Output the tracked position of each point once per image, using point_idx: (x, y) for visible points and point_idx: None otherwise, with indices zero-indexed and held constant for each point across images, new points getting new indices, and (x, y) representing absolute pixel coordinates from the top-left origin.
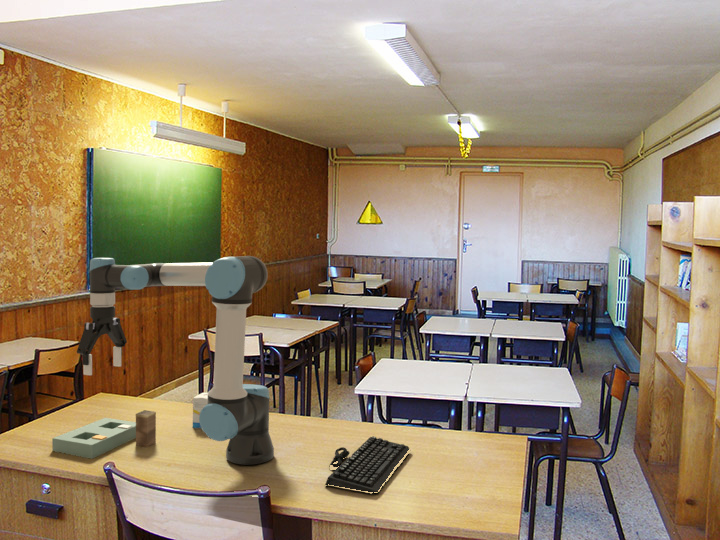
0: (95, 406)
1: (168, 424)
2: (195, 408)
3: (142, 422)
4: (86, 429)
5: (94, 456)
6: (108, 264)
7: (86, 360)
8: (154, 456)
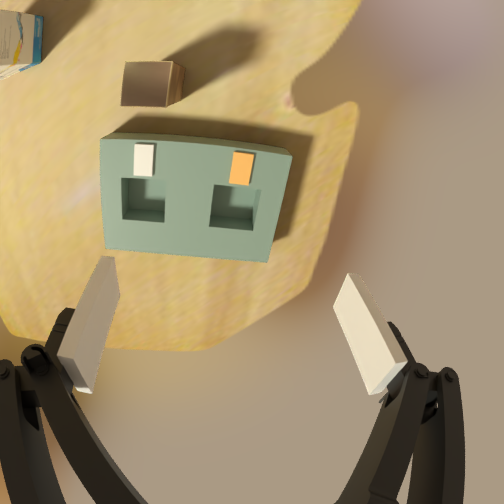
0: (43, 319)
1: (33, 132)
2: (11, 56)
3: (173, 80)
4: (192, 234)
5: (278, 147)
6: None
7: (401, 342)
8: (237, 23)
